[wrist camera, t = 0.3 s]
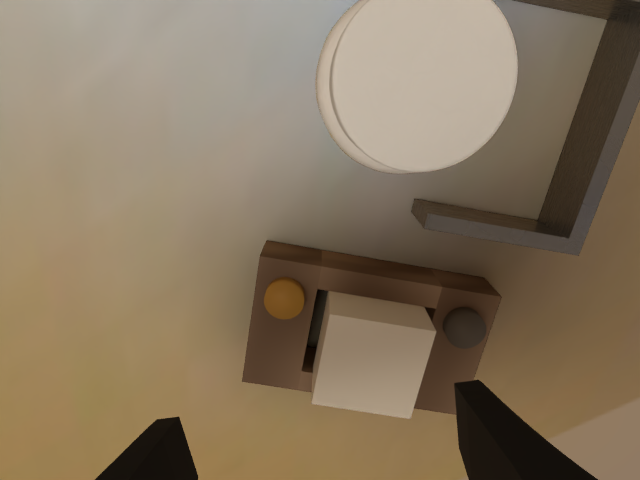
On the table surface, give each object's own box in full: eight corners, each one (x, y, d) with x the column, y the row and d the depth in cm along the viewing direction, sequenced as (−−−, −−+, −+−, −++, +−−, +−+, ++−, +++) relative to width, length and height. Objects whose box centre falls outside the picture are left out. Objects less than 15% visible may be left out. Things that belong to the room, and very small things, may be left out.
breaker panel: (484, 277, 19) (507, 303, 17) (448, 387, 21) (465, 425, 19) (266, 240, 19) (257, 261, 17) (249, 355, 21) (239, 390, 18)
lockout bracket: (629, 5, 16) (682, -12, 14) (546, 236, 19) (578, 255, 16) (471, -28, 16) (497, -50, 13) (411, 212, 19) (424, 228, 16)
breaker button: (421, 301, 18) (436, 331, 16) (399, 380, 19) (410, 419, 17) (329, 285, 18) (330, 313, 16) (312, 366, 19) (311, 403, 17)
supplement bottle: (450, 129, 18) (556, 153, 10) (339, 167, 18) (353, 220, 10) (419, 5, 16) (513, -89, 8) (301, 49, 17) (280, 3, 9)
